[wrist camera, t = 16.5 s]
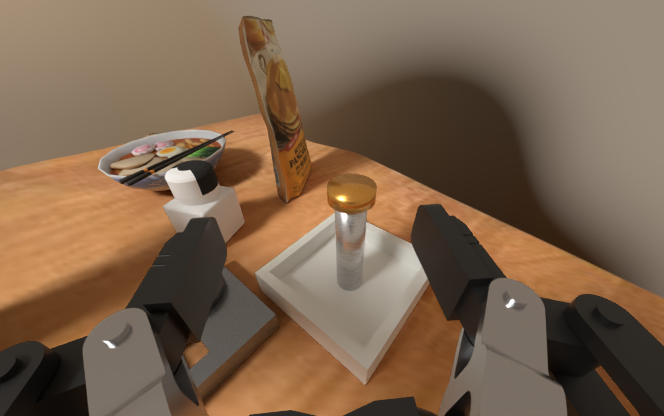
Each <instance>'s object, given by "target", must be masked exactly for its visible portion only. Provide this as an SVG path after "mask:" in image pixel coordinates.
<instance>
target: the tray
mask: <svg viewBox="0 0 664 416" xmlns="http://www.w3.org/2000/svg"><path fill="white" fill-rule="evenodd" d="M255 275H256V278H257V281H258V284H259V287H260V290H261V291H262V292H263V293H264V294H265V295H266V296H267V297H268V298H269V299H270V300H272V301H273V302H274V303H275V304H276V305H277V306H278V307H279V308H280V309H282V310H283V311H284V312H285V313H286V314H287V315H288V316H289V317H290V318H291V319H293V320H294V321H295V322H296V323H297V324H298V325H299V326H300V327H301V328H303V329H304V330H305V331H306V332H307V333H308V334H309V335H310V336H311V337H313V338H314V339H315V340H316V341H317V342H318V343H319V344H320V345H321V346H322V347H324V348H325V349H326V350H327V351H328V352H329V353H330V354H331V355H332V356H334V357H335V358H336V359H337V360H338V361H339V362H340V363H341V364H342V365H343V366H345V367H346V368H347V369H348V370H349V371H350V372H351V373H352V374H353V375H355V376H356V377H357V378H358V379H359V380H360V381H361V382H362V383H363V384H365V385H366V384H367V382H368V381H369V379H370V377H371V376H372V374H373V373H374V371H375V369H376V368H377V366H378V365H379V363H380V362H381V360H382V358H383V357H384V355H385V354H386V352H387V350H388V349H389V347H390V346H391V344H392V343H393V341H394V339H395V338H396V336H397V335H398V333H399V331H400V330H401V328H402V327H403V325H404V324H405V322H406V320H407V319H408V317H409V316H410V314H411V312H412V311H413V309H414V308H415V306H416V305H417V303H418V301H419V300H420V298H421V297H422V295H423V293H424V292H425V290H426V289H427V287H428V286H429V284H430V283H429V281H428V278H427V276H426V274H425V272H424V270H423V268H422V266H421V263H420V261H419V259H418V257H417V255H416V253H415V251H414V248H413V246H412V244H411V243H409V242H407V241H405V240H403V239H401V238H399V237H397V236H395V235H392V234H390V233H388V232H386V231H384V230H382V229H380V228H378V227H376V226H374V225H372V224H370V223H368V222H366V233H365V247H364V260H363V274H362V284H361V286H360V287H359V288H358V289H356V290H353V291H347V290H344V289H342V288H340V287H339V285H338V284H337V271H336V230H335V213H334V214H332V215H331V216H330V217H328V218H327V219H326V220H324V221H323V222H322V223H320V224H319V225H318V226H316V227H315V228H314V229H312V230H311V231H310V232H308V233H307V234H306V235H304V236H303V237H302V238H300V239H299V240H298V241H296V242H295V243H294V244H292V245H291V246H290V247H289V248H287V249H286V250H285V251H283V252H282V253H281V254H279V255H278V256H277V257H275V258H274V259H273V260H271V261H270V262H269V263H267V264H266V265H265V266H263V267H262V268H261V269H259V270H258V271H257V272H255Z"/></svg>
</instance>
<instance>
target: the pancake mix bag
mask: <svg viewBox="0 0 664 416" xmlns="http://www.w3.org/2000/svg"><path fill="white" fill-rule="evenodd" d="M239 36H240V43H241V47H242V52H243V56H244V59H245V62H246V64H247V67H248V70H249V73H250V76H251V79H252V82H253V85H254V88H255V92H256V96H257V100H258V104H259V108H260V111H261V114H262V116H263V119H264V121H265V124H266V126H267V129H268V135H269V141H270V147H271V154H272V160H273V167H274V172H275V177H276V184H277V190H278V195H279V197H280V198H281V199H282V200H283V201H284V202H286V203H288V201H289V200H290V199H292V198H296V197H298V196H299V195H300V194H301V193H302V191H303V188H304V186H305V183H306V181H307V178H308V176H309V174H310V171H311V160H310V156H309V152H308V149H307V145H306V141H305V137H304V132H303V128H302V123H301V119H300V115H299V111H298V106H297V101H296V97H295V94H294V91H293V85H292V82H291V78H290V75H289V72H288V69H287V66H286V63H285V61H284V58H283V55H282V52H281V50H280V47H279V44H278V42H277V39H276V36H275V31H274V27H273V25H272V20H268V19H267V20H266V19H260V18H258V17H254V16H243V17H242V20H241V23H240V25H239Z"/></svg>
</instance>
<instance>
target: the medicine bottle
mask: <svg viewBox="0 0 664 416" xmlns="http://www.w3.org/2000/svg"><path fill="white" fill-rule="evenodd" d="M165 179H166V181H167V183H168V185H169V187H170V189H171V192H172V194H173V196H174V199H173V200H171V201H170V202H168V203H167V204H165V205H164V206H163V208H164V210H165V212H166V214H167V215H168V217H169V219H170V221H171V223H172V225H173V227H174V228H175V230H176V232H177V233H178V232H183V231H184V229H185V228H186V226H187V224H188V222H189V221H190V219H192V218H200V217H214V218H215V219H216V220H217V223H218V225H219V228H220V231H221V233H222V236H223V238H224V241H225V244H226V243H227V241H228V240H229V239H230V238H231V237H232V236H233V235H234V234H235V233H236V232H237V231H238V230H239V229H240V227H241V226H242V225H243V224H244V223H245V221H244V218H243V214H242V211H241V208H240V205H239V201H238V198H237V195H236V192H235V189H234V188H230V187H225V186H220V185H219V182H218V180H217V177H216V174H215V171H214V168H213V166H212V164H210V163H209V162H207V161H202V160H191V161H185V162H182V163H179V164H177V165H175V166H173V167H172V168H170V169H169V170H168V171H167V172H166V175H165Z"/></svg>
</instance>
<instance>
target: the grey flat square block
mask: <svg viewBox="0 0 664 416" xmlns="http://www.w3.org/2000/svg"><path fill="white" fill-rule="evenodd" d="M278 328H279V323H278V320H277V317H276V314H275V313H274V312H273V311H272V310H271V309H269V308H268V307H267V306H266V305H265V304H264V303H263V302H262V301H261V300H260V299H259V298H258V297H257V296H256V295H255V294H253V293H252V292H251V291H250V290H249V289H248V288H247V287H246V286H245V285H244V284H243V283H242V282H241V281H240V280H239V279H237V278H236V277H235V276H234V275H233V274H232V273H231V272H230V271H229V270H228V269H227V268H226V267H225V266H224V268H223V271H222V274H221V277H220V280H219V284H218V287H217V290H216V293H215V296H214V299H213V302H212V305H211V309H210V312H209V315H208V318H207V321H206V324H205V327H204V330H203V334H202V337H201V341H202V342H203V344H204V345H205V346H206V348H207V349H208V350H209V353H208V354H207V355H206V356H204V357H203V358H202V359H201V360H200V361H199V362H198V363H196V364H195V365H194V366H193V367H192V368H191V369H189V370H190V373H191V375H192V378H193V380H194V383H195V385H196V388H197V390H198V393H199V395H200V398H201V400H202V402H203V401H204V400H205V399H206V398H207V397H208V396H209V395H210V394H211V393H212V392H213V391H214V390H215V389H216V388H217V387H218V386H219V385H220V384H221V383H222V382H223V381H224V380H226V379H227V378H228V377H229V376H230V375H231V374H232V373H233V372H234V371H235V370H236V369H237V368H238V367H239V366H240V365H241V364H242V363H243V362H244V361H245V360H246V359H247V358H248V357H249V356H250V355H251V354H252V353H253V352H254V351H255V350H256V349H257V348H258V347H259V346H260V345H261V344H262V343H263V342H264V341H265V340H266V339H267V338H268V337H270V336H271V335H272V334H273V333H274V332H275V331H276V330H277V329H278ZM187 344H189V343H186V345H187Z"/></svg>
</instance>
